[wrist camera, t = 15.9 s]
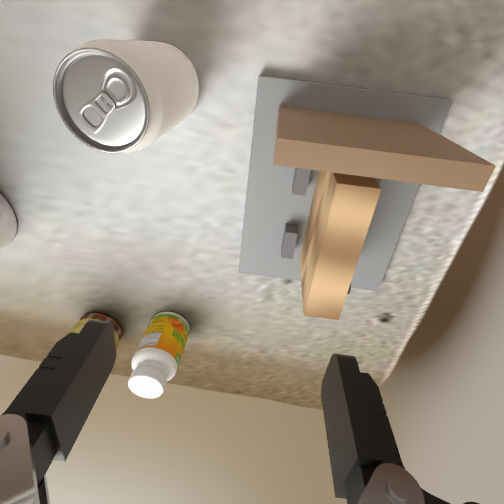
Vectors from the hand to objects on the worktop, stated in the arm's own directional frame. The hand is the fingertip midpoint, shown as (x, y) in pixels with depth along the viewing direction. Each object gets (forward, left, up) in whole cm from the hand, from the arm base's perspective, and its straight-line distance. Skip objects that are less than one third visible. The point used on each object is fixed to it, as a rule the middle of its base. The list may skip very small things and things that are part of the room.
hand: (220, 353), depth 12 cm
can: (-4, +10, -24) cm, 26 cm away
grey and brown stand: (+4, -7, -24) cm, 25 cm away
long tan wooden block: (+4, -7, -23) cm, 24 cm away
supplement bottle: (-21, -14, -24) cm, 35 cm away
